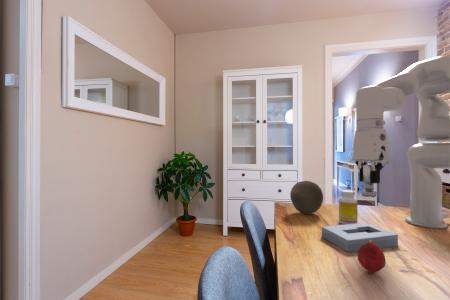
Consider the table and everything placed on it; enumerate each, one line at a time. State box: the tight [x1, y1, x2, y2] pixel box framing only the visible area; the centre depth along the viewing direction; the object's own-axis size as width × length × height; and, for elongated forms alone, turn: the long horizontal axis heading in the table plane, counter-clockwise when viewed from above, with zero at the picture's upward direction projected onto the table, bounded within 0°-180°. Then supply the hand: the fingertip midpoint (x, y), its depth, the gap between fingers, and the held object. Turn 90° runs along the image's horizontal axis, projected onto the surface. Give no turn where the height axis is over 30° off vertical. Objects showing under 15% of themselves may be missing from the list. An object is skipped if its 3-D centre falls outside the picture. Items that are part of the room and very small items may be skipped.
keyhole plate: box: [321, 222, 399, 253], centre depth 77 cm, size 18×12×3 cm, turn 103°
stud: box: [361, 164, 378, 198], centre depth 77 cm, size 4×4×10 cm
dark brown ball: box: [289, 180, 324, 215], centre depth 107 cm, size 14×14×15 cm
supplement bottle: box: [338, 189, 358, 225], centre depth 94 cm, size 7×7×13 cm
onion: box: [356, 239, 386, 274], centre depth 57 cm, size 6×6×8 cm
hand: (369, 181), depth 77 cm, fingers closed on stud, 3 cm apart
